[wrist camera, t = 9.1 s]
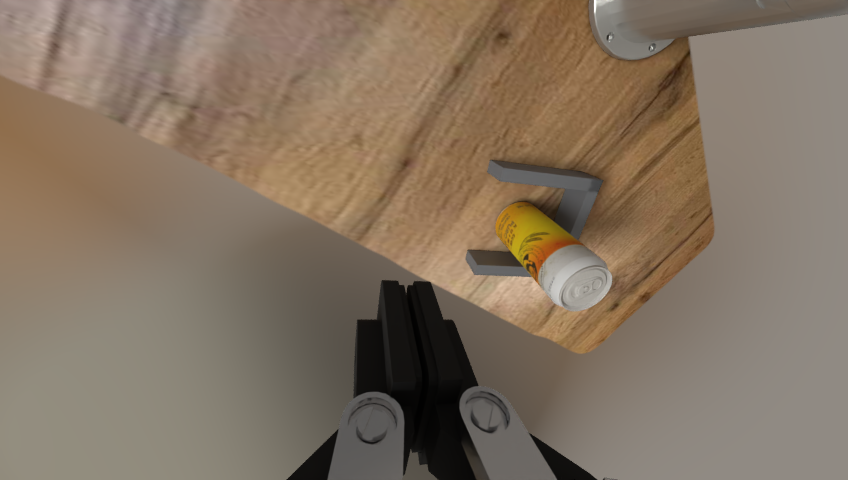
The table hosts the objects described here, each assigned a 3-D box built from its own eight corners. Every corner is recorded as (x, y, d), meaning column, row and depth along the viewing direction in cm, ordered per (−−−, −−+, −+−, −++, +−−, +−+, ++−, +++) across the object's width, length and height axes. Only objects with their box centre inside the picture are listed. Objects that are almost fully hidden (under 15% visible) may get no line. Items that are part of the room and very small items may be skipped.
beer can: (489, 209, 40) (554, 278, 27) (532, 192, 40) (617, 253, 27) (496, 245, 43) (558, 322, 30) (536, 230, 43) (614, 300, 30)
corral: (582, 171, 40) (603, 180, 37) (547, 263, 46) (562, 277, 43) (490, 159, 37) (503, 167, 34) (465, 259, 43) (474, 274, 40)
